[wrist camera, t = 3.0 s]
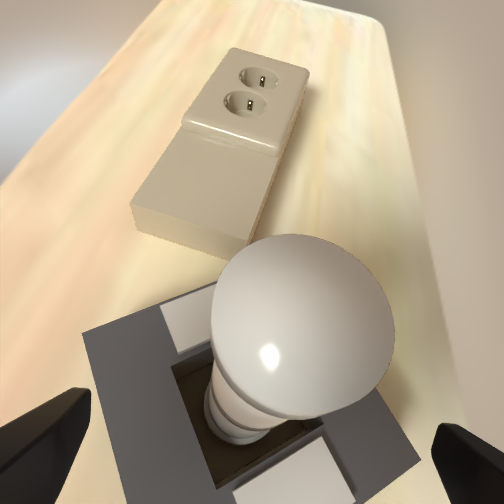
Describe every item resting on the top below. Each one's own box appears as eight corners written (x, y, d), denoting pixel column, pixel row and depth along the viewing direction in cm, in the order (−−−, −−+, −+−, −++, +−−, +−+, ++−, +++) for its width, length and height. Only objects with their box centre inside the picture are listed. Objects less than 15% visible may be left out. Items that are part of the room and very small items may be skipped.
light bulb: (286, 422, 17) (432, 355, 6) (221, 460, 16) (268, 455, 5) (254, 356, 18) (328, 215, 8) (192, 386, 17) (183, 267, 7)
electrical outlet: (126, 191, 19) (230, 44, 28) (138, 233, 22) (227, 89, 32) (249, 231, 18) (311, 68, 28) (241, 267, 22) (299, 110, 31)
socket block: (387, 460, 17) (426, 459, 14) (172, 614, 13) (165, 658, 10) (279, 277, 21) (291, 249, 18) (98, 351, 17) (79, 330, 15)
